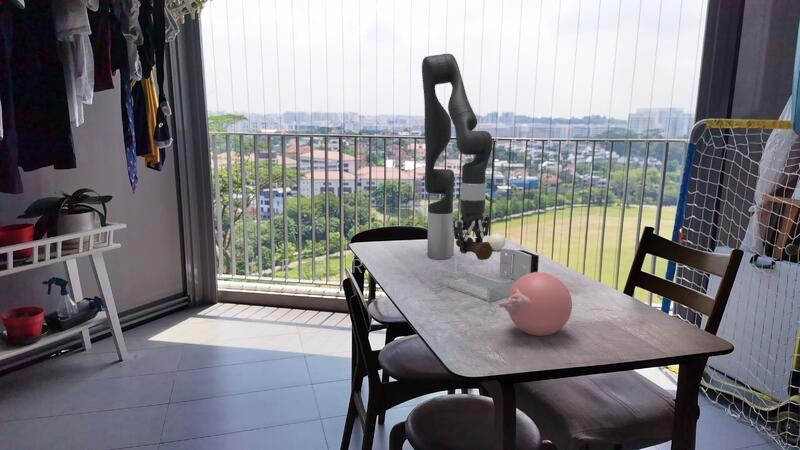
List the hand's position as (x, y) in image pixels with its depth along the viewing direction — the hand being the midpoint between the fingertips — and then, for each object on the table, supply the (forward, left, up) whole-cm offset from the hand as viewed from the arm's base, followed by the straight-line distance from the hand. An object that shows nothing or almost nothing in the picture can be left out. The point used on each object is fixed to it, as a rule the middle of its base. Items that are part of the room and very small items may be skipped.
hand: (470, 251), depth 164 cm
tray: (0, +3, -12) cm, 12 cm away
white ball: (-42, -27, -12) cm, 51 cm away
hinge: (-17, +5, -12) cm, 21 cm away
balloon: (+15, +35, -12) cm, 40 cm away
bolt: (0, 0, -1) cm, 1 cm away
